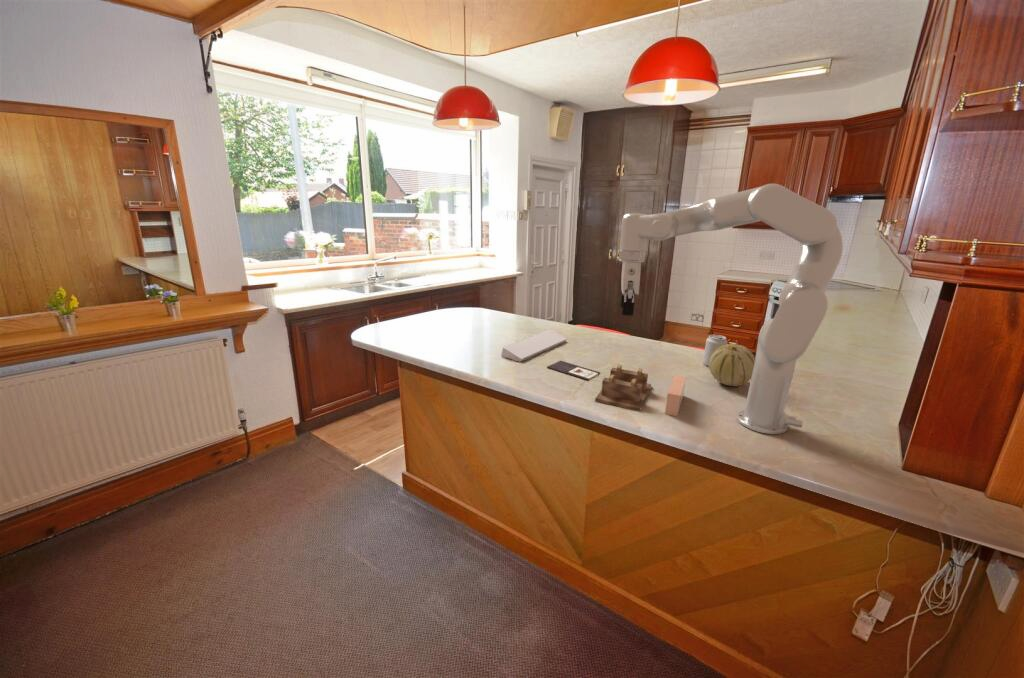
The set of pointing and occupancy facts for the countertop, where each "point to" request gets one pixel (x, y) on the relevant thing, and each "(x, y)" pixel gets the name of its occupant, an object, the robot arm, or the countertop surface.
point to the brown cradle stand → (624, 388)
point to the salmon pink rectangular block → (675, 395)
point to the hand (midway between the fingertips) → (626, 311)
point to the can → (713, 346)
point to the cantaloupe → (732, 364)
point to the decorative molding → (532, 345)
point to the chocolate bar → (573, 370)
